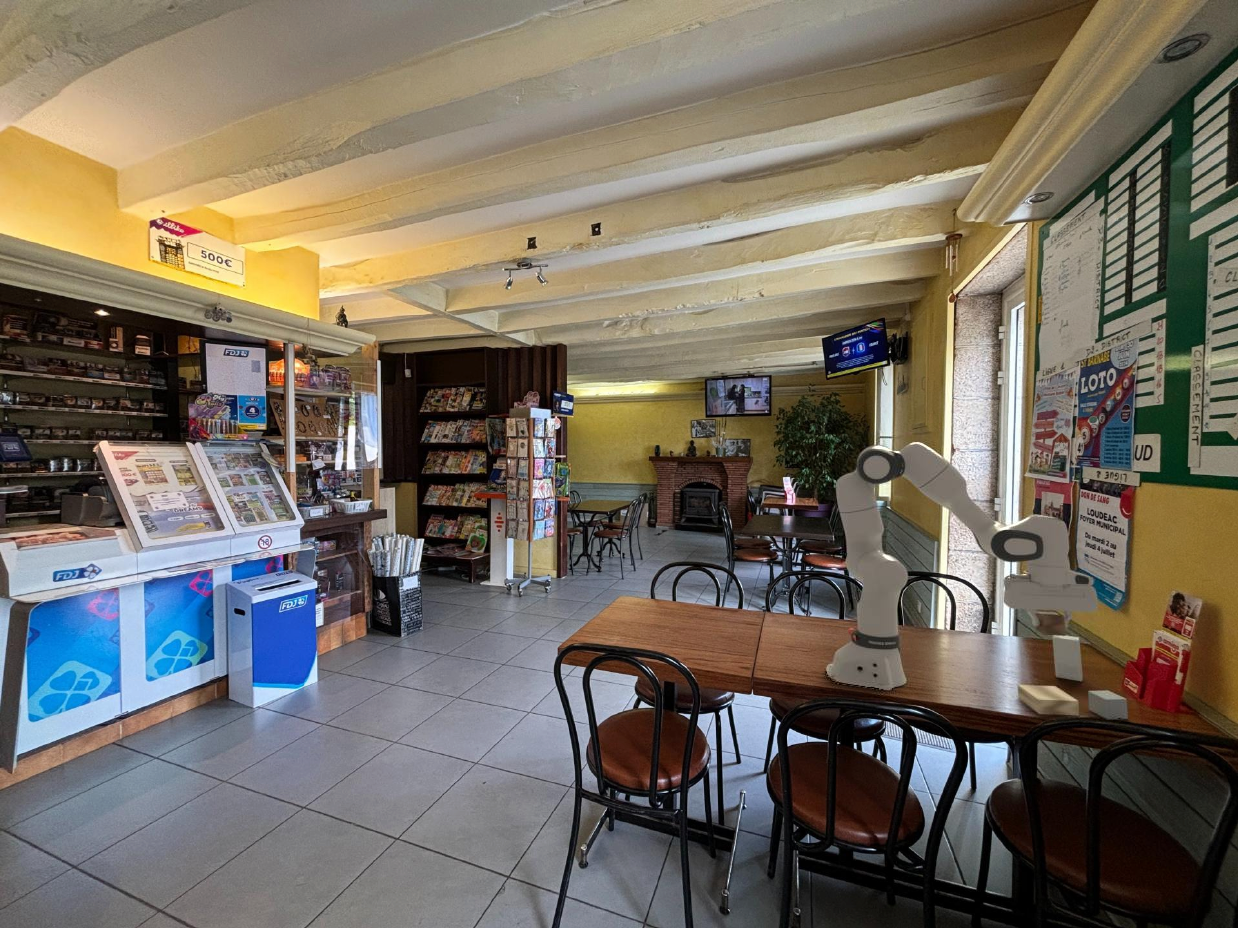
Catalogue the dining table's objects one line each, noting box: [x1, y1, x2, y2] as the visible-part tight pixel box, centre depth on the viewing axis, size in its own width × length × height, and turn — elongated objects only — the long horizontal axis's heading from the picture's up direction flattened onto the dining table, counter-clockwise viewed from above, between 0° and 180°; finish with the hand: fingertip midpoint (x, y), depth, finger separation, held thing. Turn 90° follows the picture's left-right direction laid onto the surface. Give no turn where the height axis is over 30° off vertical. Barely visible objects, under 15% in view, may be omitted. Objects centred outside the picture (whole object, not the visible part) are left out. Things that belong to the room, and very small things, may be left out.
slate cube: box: [1087, 689, 1129, 720], centre depth 129 cm, size 5×5×5 cm
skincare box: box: [1052, 635, 1083, 682], centre depth 152 cm, size 6×4×12 cm
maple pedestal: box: [1017, 684, 1080, 716], centre depth 135 cm, size 9×9×4 cm
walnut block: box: [1035, 611, 1066, 636], centre depth 137 cm, size 4×4×5 cm
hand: (1050, 626), depth 137 cm, fingers closed on walnut block, 4 cm apart
